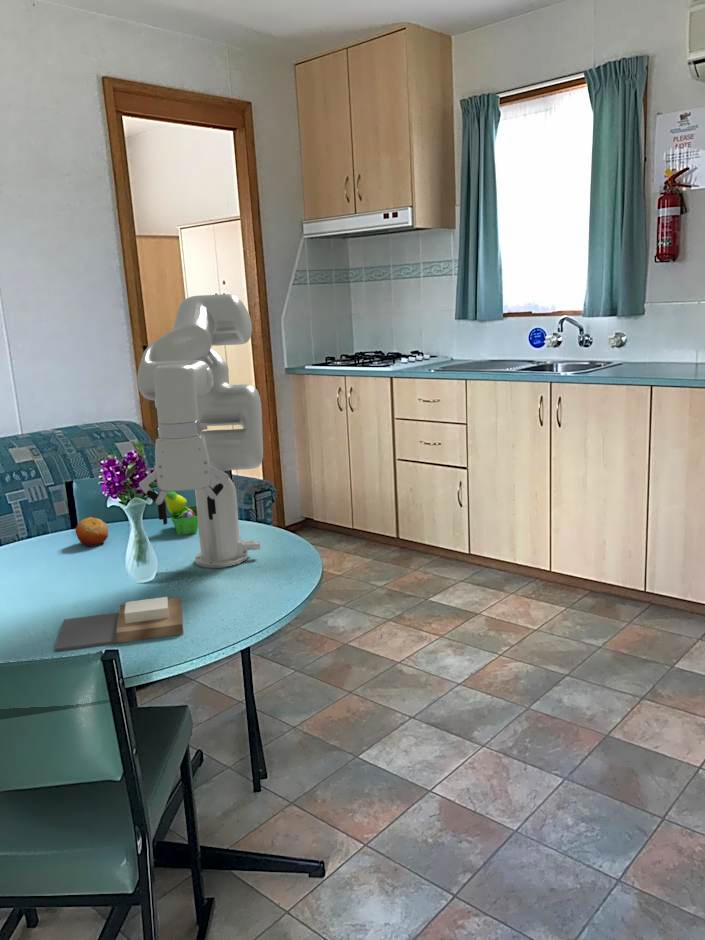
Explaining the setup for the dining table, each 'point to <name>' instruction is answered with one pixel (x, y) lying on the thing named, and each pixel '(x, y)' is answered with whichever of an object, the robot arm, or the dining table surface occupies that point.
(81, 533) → the fruit
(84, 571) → the dining table surface
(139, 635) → the board
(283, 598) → the dining table surface
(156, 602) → the block
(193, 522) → the green easter basket
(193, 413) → the robot arm
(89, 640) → the mat
